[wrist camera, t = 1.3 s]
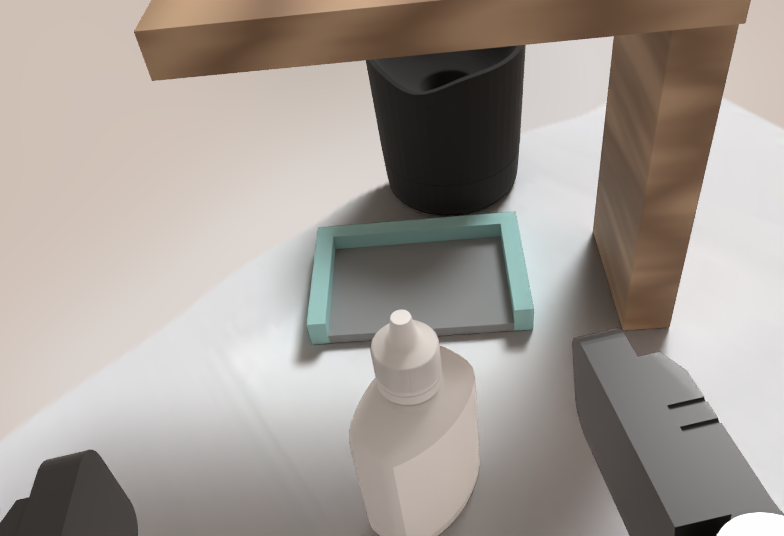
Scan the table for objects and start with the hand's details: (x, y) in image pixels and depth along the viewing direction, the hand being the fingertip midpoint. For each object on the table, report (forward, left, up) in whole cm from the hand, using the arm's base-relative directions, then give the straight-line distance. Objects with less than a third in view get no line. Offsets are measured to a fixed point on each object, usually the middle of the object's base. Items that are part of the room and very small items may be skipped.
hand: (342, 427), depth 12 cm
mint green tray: (0, +23, -20) cm, 30 cm away
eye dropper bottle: (0, +10, -20) cm, 22 cm away
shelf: (+2, +23, -20) cm, 30 cm away
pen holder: (+3, +33, -20) cm, 39 cm away
